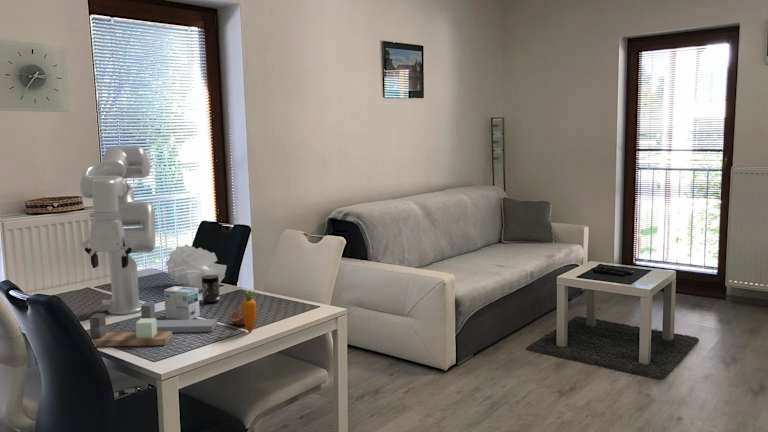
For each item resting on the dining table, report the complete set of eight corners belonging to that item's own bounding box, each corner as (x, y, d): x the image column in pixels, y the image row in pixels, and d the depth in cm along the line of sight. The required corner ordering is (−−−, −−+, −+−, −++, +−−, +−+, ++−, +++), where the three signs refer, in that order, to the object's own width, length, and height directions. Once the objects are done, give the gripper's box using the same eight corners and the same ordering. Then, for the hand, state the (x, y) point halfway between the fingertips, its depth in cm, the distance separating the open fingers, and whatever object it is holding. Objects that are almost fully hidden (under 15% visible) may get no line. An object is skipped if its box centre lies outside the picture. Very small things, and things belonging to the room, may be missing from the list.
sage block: (136, 338, 211) (135, 323, 210) (141, 333, 216) (140, 318, 215) (152, 337, 211) (151, 322, 210) (157, 332, 216) (156, 318, 215)
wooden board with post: (89, 346, 209) (87, 319, 208) (99, 338, 217) (97, 312, 216) (165, 345, 210) (163, 317, 209) (172, 337, 218) (170, 310, 217)
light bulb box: (200, 315, 243) (199, 287, 242) (189, 320, 237) (188, 291, 235) (176, 313, 246) (174, 285, 245) (164, 318, 240) (163, 289, 239)
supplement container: (206, 299, 265) (205, 274, 264) (222, 299, 265) (221, 274, 263) (199, 304, 259) (198, 278, 257) (216, 304, 258) (215, 278, 256)
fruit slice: (254, 325, 231) (253, 311, 230) (237, 329, 226) (236, 315, 226) (242, 320, 237) (242, 306, 236) (225, 324, 232) (225, 310, 232)
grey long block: (141, 332, 222) (139, 307, 221) (148, 325, 230) (147, 300, 229) (212, 331, 223) (211, 306, 222) (217, 324, 231) (216, 299, 230)
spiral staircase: (201, 303, 275) (173, 289, 293) (234, 279, 285) (205, 267, 302) (182, 268, 267) (155, 256, 284) (217, 244, 276) (189, 234, 294)
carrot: (243, 330, 225) (241, 287, 223) (258, 329, 225) (256, 287, 223) (241, 334, 220) (239, 291, 218) (256, 334, 221) (255, 291, 218)
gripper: (74, 218, 210) (79, 270, 213) (128, 218, 211) (132, 270, 214) (84, 214, 218) (88, 264, 221) (137, 214, 218) (140, 264, 221)
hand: (110, 267), depth 217 cm, fingers open, 9 cm apart
